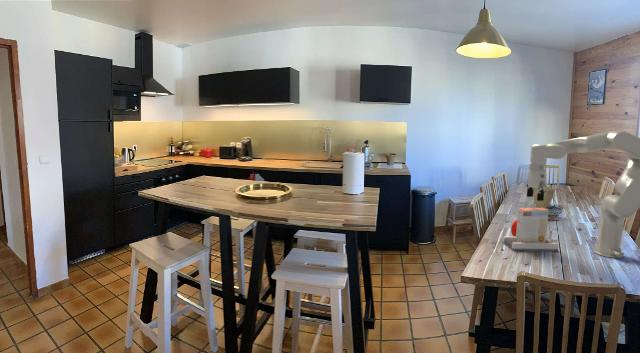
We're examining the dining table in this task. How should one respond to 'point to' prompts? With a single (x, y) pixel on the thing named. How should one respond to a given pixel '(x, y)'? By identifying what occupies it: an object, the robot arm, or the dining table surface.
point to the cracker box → (532, 225)
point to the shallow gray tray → (529, 245)
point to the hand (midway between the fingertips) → (534, 198)
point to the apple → (514, 228)
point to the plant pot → (547, 197)
